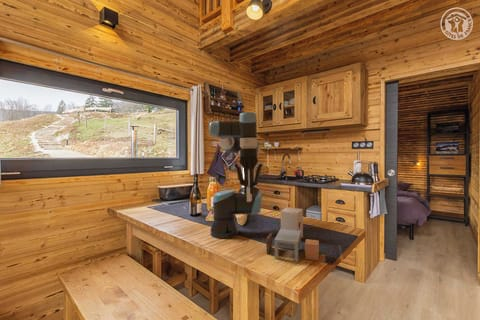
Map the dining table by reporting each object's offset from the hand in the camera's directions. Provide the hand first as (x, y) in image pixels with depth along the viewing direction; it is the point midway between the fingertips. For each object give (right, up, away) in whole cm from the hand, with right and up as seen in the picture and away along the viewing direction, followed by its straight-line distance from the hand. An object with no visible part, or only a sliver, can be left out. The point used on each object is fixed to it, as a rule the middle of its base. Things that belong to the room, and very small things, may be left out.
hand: (249, 201), depth 99 cm
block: (+25, -21, -9) cm, 34 cm away
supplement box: (+22, -22, +14) cm, 34 cm away
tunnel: (+16, -22, -6) cm, 28 cm away
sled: (+19, -22, -7) cm, 30 cm away
